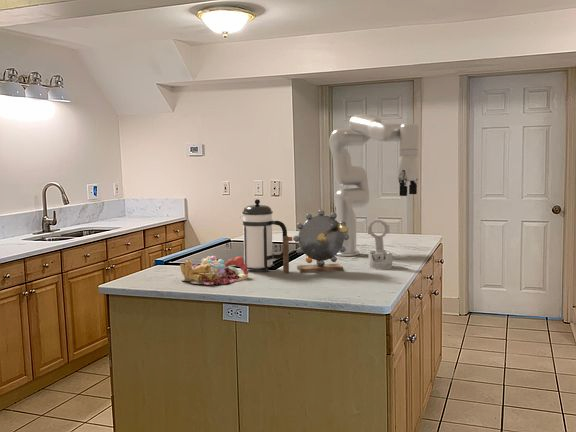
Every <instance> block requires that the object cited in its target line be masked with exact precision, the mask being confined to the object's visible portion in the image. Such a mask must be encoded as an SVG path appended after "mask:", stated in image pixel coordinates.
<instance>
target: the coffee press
mask: <svg viewBox="0 0 576 432" xmlns="http://www.w3.org/2000/svg"><path fill="white" fill-rule="evenodd" d="M260 203H261V200H260V199H258V198H257V199H255V200H254V204H252V205H247V206H245V207H244V208H243V211H242V212H241V215H240V217H239V218H240V219H242V225H243V259H244V264H246V265H247V269H246V270H248V271H249V270H250V269H262V270H263V272H264V273H268V272H269V270H270V269H269V268H271V267H272V266H274V267H275V264H274V263H273V260H276V259H278V260H279V259H283V250H282V251H281V253H279V254H273V226H274V225H275V226H278V227H280V228H281V230H282V237H283V236H288V231H287V226H286V225H285V223H283V222H282V221H279V220H273V212H274V211H273V210H272V208H271V207H270V206H269V205H264V204H260Z"/></svg>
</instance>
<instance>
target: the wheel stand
mask: <svg viewBox="0 0 576 432" xmlns="http://www.w3.org/2000/svg"><path fill="white" fill-rule="evenodd" d="M293 237H294V236H288V235H287V236H283V235H282V251H283V257H282V261H283V262H282V264H283V265H282V272H283V274H289V273H290V257H289V256H290V254H289V253H290V252H289V251H290V249H289V248H290V247H289V246H290V245H289V244H290V243H289V242H293V241H294V240H293ZM296 269H297V271H299V272H300V273H305V274H306V273H321V272H322V273H323V272H339V271H340V272H342V271H344V266H342V265H341V264H339V263H325V264H324V265H323V266H320V265H319V264H318V260H316V264H303V265H301V264H300V265H299V264H298V265H296Z"/></svg>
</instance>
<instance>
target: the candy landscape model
mask: <svg viewBox="0 0 576 432" xmlns="http://www.w3.org/2000/svg"><path fill="white" fill-rule="evenodd" d="M233 265H234V266H233ZM235 266H236V267H235ZM179 267H180V271H181V273H182V275H183V278H181V279H180V280H181V281H183V282H184V281H185V282H190V283H191V284H195V285H196V284H197V285H207V286H209V285H210V286H211V285H216V286H218V285H219V284H221V285H222V284H223V285H227V284H230V283H234V282H242V281H244V280H247V279H248V278H249V269H248V270H246V269H247V268H248V267H247V265H246V264H244V257H242V256H239V255H238V256H236V257H234V259H233V258H229V259H228V260H227V262H225V260H223V259H222V258H221V259H219V258H217V256H215V255H211V256H210V255H208V256H207V257H204V258H202V259H201V261H200V264H198V262H196V263H195V264H193V262H192V259H187V260H184V263H180V264H179ZM237 267H238V268H240V270H241V271H243V273H240V272H239V270H238V269H237Z"/></svg>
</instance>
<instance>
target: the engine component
mask: <svg viewBox="0 0 576 432" xmlns="http://www.w3.org/2000/svg"><path fill="white" fill-rule="evenodd" d="M375 223H380V224H382V225H383V228H384V231H383V233H382V234H380V235H379V234H378V235H377V234H375V233H374V232H373V226H374V224H375ZM366 232H367V235H370V236H371V237H372V238H374V241H375V242H374V243H375V250H369V251H368V268H370V269H374V270H389V269H392V268H393V251H388V252H387V250H385V249H384V248H385V247H384V237H385V236H386V235H387V234H390V225H389V224H387V222H385V220H383V219H379V218H377V219H374V220H373V221H371V222H370V223H369V225H368V226H366Z"/></svg>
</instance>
